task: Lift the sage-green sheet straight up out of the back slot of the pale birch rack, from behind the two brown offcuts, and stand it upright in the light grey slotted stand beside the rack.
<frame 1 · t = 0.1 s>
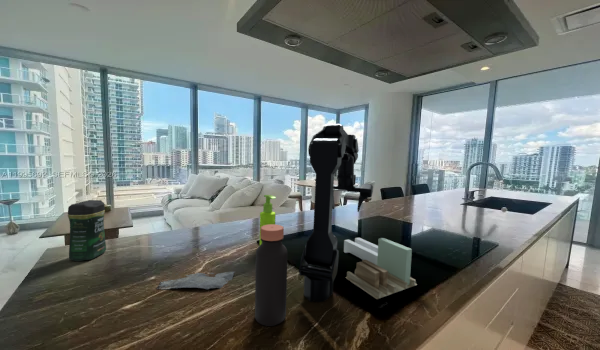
hand: (345, 210, 93), 15 cm above the counter, tool pointing down, fingers open, 9 cm apart
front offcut: (366, 285, 67), point 1 cm above the counter, touching birch rack
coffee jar: (89, 256, 83), on the counter
birch rack: (383, 283, 70), on the counter
middle offcut: (373, 283, 68), point 1 cm above the counter, touching birch rack
bottle: (270, 317, 55), on the counter
stone slab: (198, 283, 69), on the counter
soap dispenser: (267, 247, 96), on the counter
green sheet: (392, 277, 72), point 1 cm above the counter, touching birch rack
grey slotted stand: (366, 258, 87), on the counter
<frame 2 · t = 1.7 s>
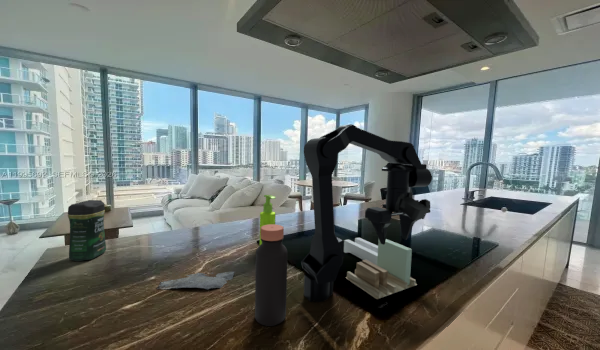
hand: (394, 241, 71), 12 cm above the counter, tool pointing down, fingers open, 9 cm apart
nothing on the counter moved.
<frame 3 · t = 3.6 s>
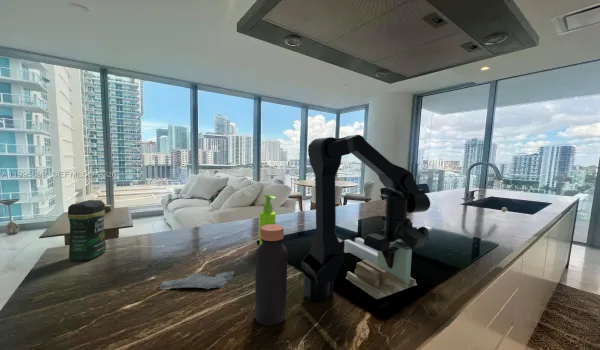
hand: (392, 267, 72), 4 cm above the counter, tool pointing down, fingers closed on green sheet, 2 cm apart
green sheet: (392, 277, 72), point 1 cm above the counter, touching birch rack, gripper
everything else where it was.
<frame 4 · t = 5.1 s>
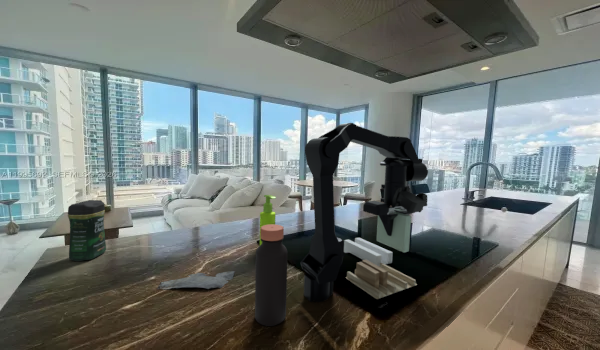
hand: (392, 235, 72), 13 cm above the counter, tool pointing down, fingers closed on green sheet
green sheet: (391, 245, 72), point 10 cm above the counter, touching gripper
everything else where it was.
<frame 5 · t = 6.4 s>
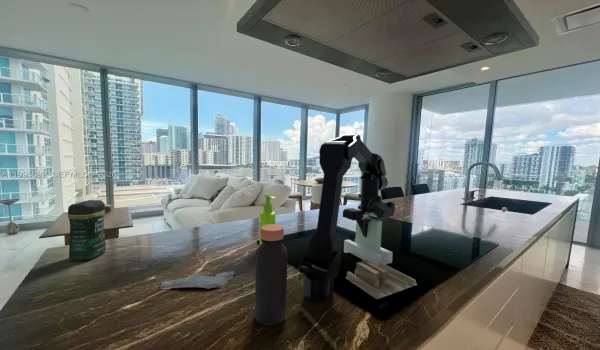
hand: (367, 236, 86), 8 cm above the counter, tool pointing down, fingers closed on green sheet
green sheet: (367, 246, 86), point 5 cm above the counter, touching gripper
everything else where it was.
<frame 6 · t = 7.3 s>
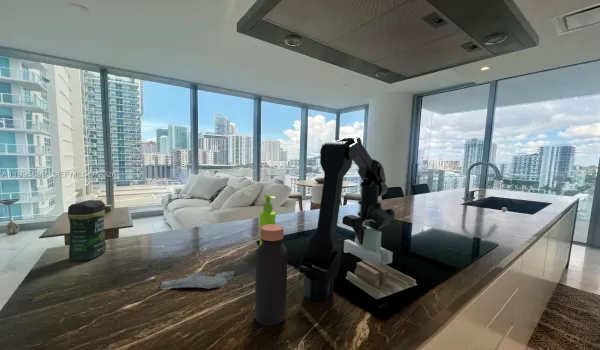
hand: (367, 243, 87), 5 cm above the counter, tool pointing down, fingers open, 5 cm apart
green sheet: (366, 255, 87), point 1 cm above the counter, touching grey slotted stand
everything else where it was.
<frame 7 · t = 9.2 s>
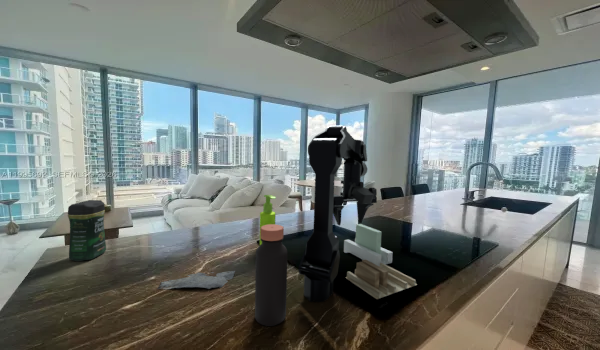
hand: (349, 223, 85), 13 cm above the counter, tool pointing down, fingers open, 9 cm apart
nothing on the counter moved.
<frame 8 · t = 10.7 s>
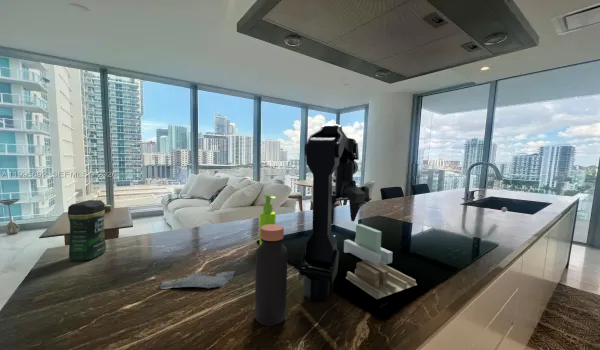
hand: (342, 222, 84), 13 cm above the counter, tool pointing down, fingers open, 9 cm apart
nothing on the counter moved.
at the end: green sheet 0.2 cm off-centre on the grey slotted stand, point 1.0 cm above the grey slotted stand's base; green sheet tilted 0°; middle offcut moved 0.0 cm from its start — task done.
